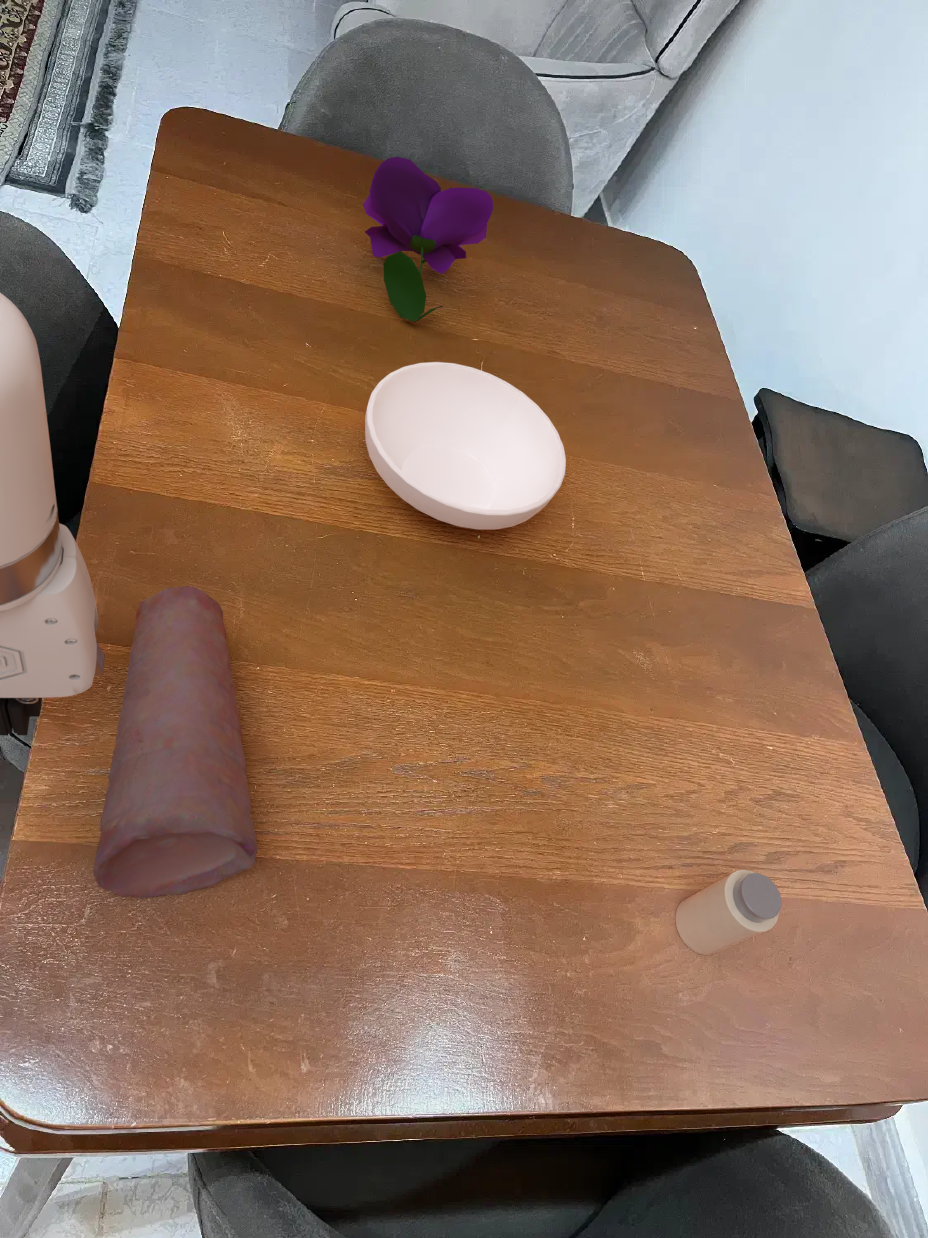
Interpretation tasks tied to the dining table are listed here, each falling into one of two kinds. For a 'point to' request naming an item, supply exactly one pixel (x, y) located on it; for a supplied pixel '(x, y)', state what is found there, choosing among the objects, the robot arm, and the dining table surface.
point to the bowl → (463, 445)
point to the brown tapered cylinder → (176, 758)
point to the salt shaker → (728, 912)
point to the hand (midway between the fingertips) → (16, 714)
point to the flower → (420, 228)
